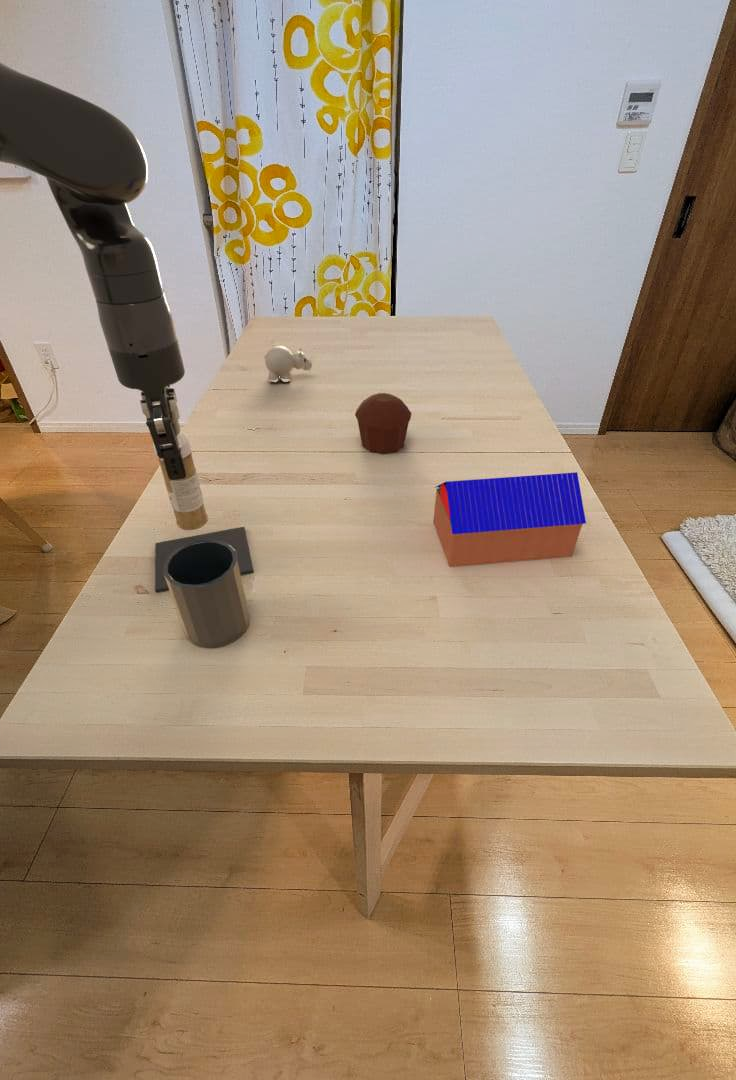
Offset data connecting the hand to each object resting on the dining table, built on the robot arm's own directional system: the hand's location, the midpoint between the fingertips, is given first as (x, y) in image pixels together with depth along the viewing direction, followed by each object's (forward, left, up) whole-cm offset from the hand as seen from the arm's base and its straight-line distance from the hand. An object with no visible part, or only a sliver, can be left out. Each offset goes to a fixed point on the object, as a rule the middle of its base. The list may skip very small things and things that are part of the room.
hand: (177, 467), depth 69 cm
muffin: (+38, +26, -17) cm, 49 cm away
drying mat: (0, 0, -16) cm, 16 cm away
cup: (+1, -14, -16) cm, 22 cm away
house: (+46, -9, -17) cm, 50 cm away
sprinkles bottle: (0, 0, -10) cm, 10 cm away
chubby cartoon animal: (+26, +65, -17) cm, 72 cm away
